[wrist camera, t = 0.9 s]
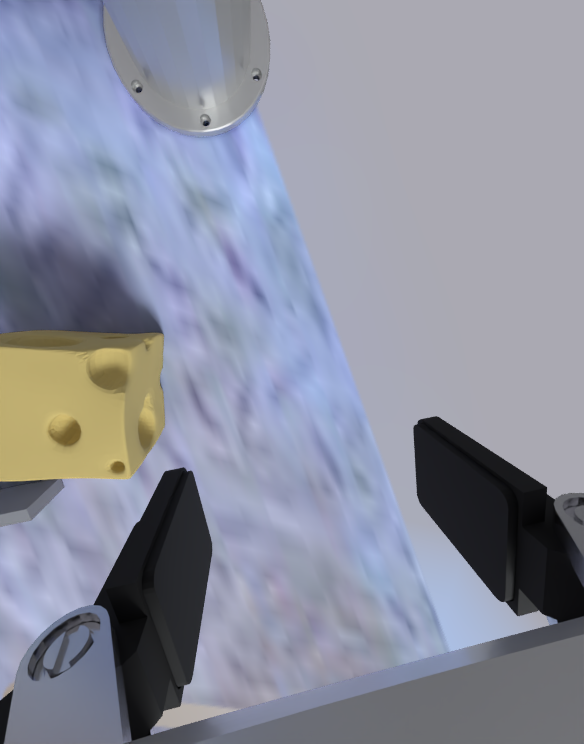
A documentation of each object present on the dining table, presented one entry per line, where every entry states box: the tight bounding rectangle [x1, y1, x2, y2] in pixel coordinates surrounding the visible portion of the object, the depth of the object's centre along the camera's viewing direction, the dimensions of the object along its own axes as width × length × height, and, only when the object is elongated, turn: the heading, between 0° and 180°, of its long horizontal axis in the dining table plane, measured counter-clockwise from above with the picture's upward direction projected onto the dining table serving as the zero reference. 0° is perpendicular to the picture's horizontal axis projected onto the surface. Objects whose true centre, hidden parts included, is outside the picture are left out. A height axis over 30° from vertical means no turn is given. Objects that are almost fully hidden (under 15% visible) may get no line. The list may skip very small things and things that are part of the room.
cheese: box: [0, 330, 165, 481], centre depth 26 cm, size 10×11×10 cm
